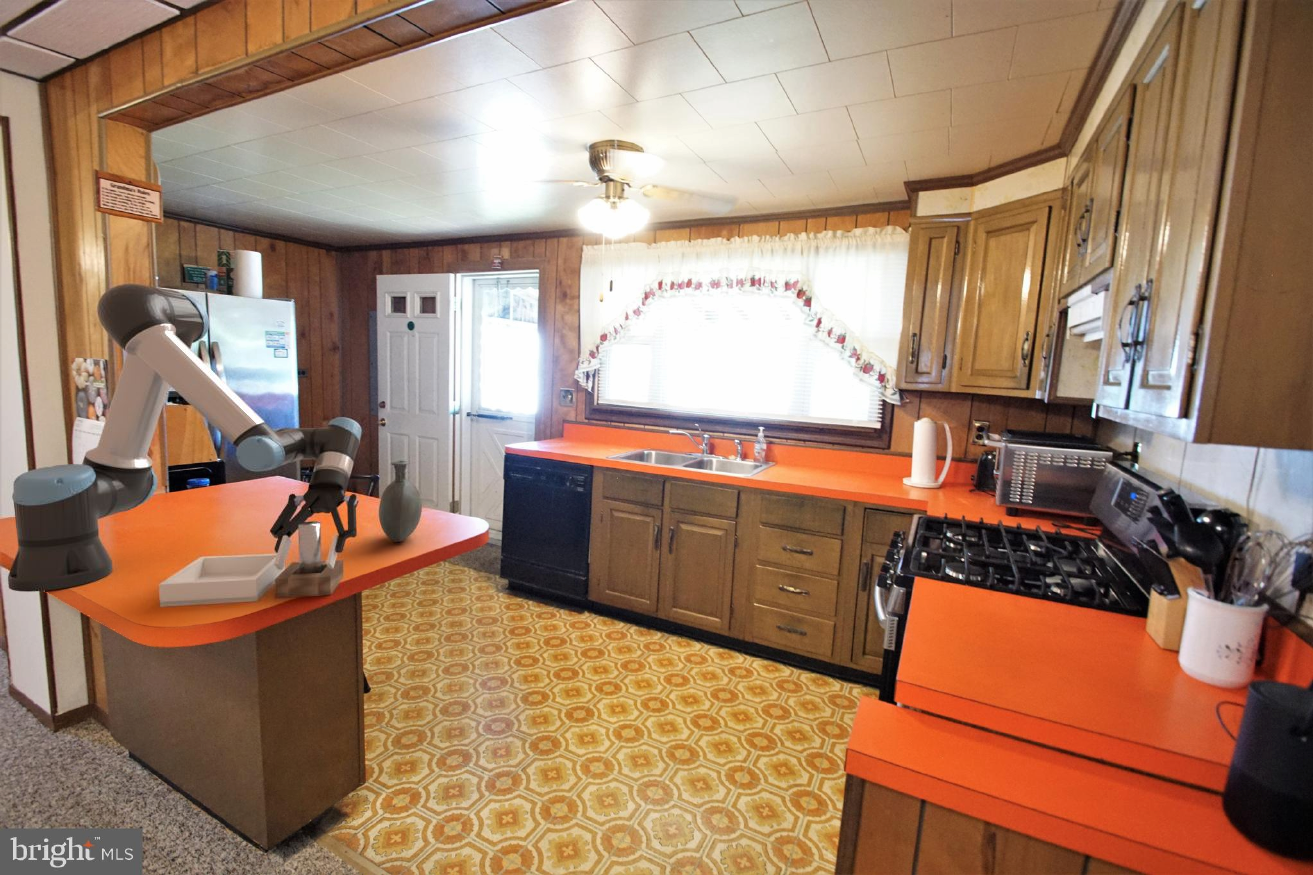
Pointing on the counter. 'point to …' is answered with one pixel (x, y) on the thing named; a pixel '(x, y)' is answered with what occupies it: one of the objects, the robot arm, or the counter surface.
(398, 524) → the flask
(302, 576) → the socket block
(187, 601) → the tray
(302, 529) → the steel pin
